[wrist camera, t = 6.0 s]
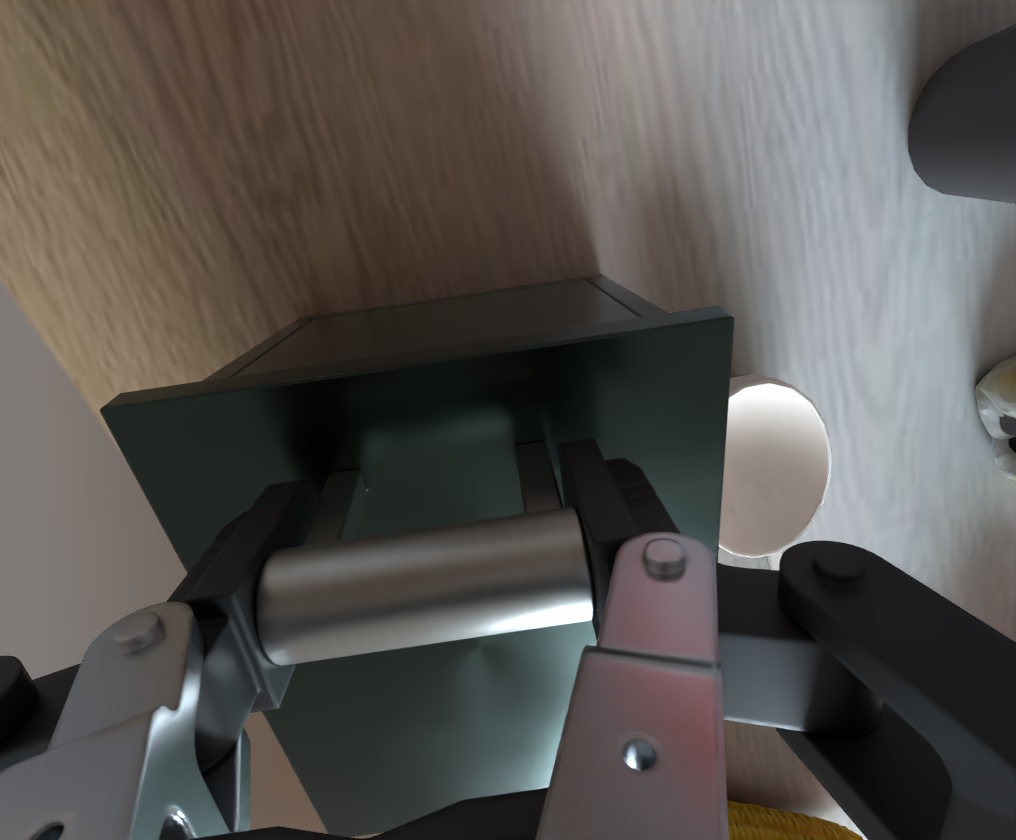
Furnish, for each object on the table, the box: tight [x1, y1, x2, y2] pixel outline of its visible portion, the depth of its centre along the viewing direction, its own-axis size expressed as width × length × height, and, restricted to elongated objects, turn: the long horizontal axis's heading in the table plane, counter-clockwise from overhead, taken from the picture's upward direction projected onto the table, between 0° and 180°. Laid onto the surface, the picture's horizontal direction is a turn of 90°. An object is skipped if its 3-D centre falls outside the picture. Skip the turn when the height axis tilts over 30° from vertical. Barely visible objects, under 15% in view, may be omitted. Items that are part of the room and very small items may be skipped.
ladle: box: [719, 374, 832, 571], centre depth 28 cm, size 6×28×5 cm, turn 23°
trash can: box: [203, 274, 668, 381], centre depth 21 cm, size 16×13×10 cm
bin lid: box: [100, 306, 734, 837], centre depth 13 cm, size 16×13×5 cm
